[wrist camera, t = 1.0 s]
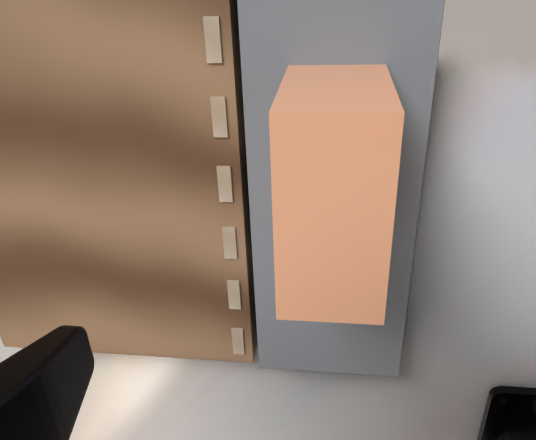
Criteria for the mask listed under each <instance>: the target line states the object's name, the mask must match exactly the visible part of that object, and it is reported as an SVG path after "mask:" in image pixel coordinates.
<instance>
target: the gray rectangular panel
mask: <svg viewBox="0 0 536 440" xmlns="http://www.w3.org/2000/svg"><path fill="white" fill-rule="evenodd" d="M444 2H445V0H237V5H238V22H239V39H240V56H241V73H242V90H243V106H244V123H245V140H246V157H247V174H248V191H249V207H250V224H251V241H252V258H253V275H254V292H255V309H256V325H257V342H258V359H259V368H267V369H282V370H297V371H312V372H327V373H342V374H357V375H373V376H388V377H399V369H400V361H401V353H402V345H403V337H404V329H405V321H406V312H407V304H408V296H409V288H410V280H411V272H412V264H413V255H414V247H415V239H416V231H417V223H418V215H419V207H420V198H421V190H422V182H423V174H424V166H425V158H426V150H427V141H428V133H429V125H430V117H431V109H432V101H433V93H434V84H435V76H436V68H437V60H438V52H439V43H440V35H441V27H442V19H443V11H444Z"/></svg>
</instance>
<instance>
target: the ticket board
mask: <svg viewBox="0 0 536 440" xmlns="http://www.w3.org/2000/svg"><path fill="white" fill-rule="evenodd" d="M62 325H73V326H81V327H84V328H85V330H86V332H87V335H88V339H89V342H90V346H91V350H92V352H97V353H113V354H128V355H144V356H159V357H174V358H190V359H205V360H221V361H236V362H252V363H253V362H254V357H255V352H256V347H257V325H256V309H255V292H254V275H253V258H252V241H251V224H250V207H249V191H248V174H247V157H246V140H245V123H244V106H243V90H242V73H241V56H240V39H239V22H238V5H237V0H0V336H1V339H2V342H3V344H4V346H5V347H20V348H25V347H27V346H28V345H30V344H31V343H33V342H35V341H36V340H38V339H40V338H41V337H43V336H44V335H46V334H48V333H49V332H51V331H53V330H54V329H56V328H57V327H59V326H62Z"/></svg>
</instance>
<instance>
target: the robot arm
mask: <svg viewBox="0 0 536 440" xmlns="http://www.w3.org/2000/svg"><path fill="white" fill-rule="evenodd" d="M93 369H94V357H93V354H92V350H91V346H90V342H89V339H88V335H87V332H86V330H85V328H84V327H81V326H73V325H62V326H59V327H57V328H56V329H54V330H53V331H51V332H49V333H48V334H46V335H44V336H43V337H41V338H40V339H38V340H36V341H35V342H33V343H31V344H30V345H28V346H27V347H25V348H23V349H22V350H20V351H19V352H17V353H15V354H14V355H12V356H10V357H9V358H7V359H6V360H4V361H2V362H1V363H0V440H69V438H70V436H71V433H72V430H73V427H74V424H75V421H76V419H77V416H78V413H79V410H80V407H81V404H82V402H83V399H84V396H85V393H86V390H87V388H88V385H89V382H90V379H91V376H92V373H93ZM500 397H502V398H500ZM478 440H536V388H524V387H509V386H498V387H495V388H493V389H492V390H490V392H489V395H488V399H487V403H486V407H485V411H484V415H483V420H482V424H481V428H480V432H479V436H478Z"/></svg>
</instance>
